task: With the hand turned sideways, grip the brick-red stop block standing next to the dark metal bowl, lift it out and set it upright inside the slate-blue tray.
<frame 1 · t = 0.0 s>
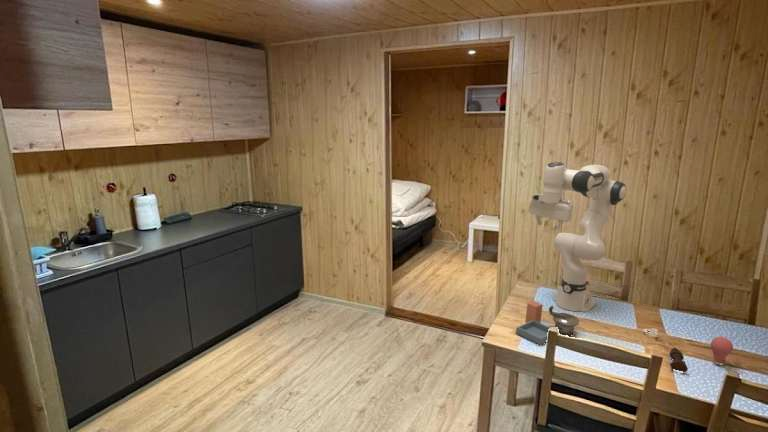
hand: (548, 227, 194), 48 cm above the table, tool pointing down, fingers open, 8 cm apart
stop block: (532, 322, 203), on the table
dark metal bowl: (563, 332, 194), on the table
tray: (536, 335, 190), on the table
light bulb: (717, 364, 172), on the table
brown shoe: (676, 364, 171), on the table
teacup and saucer: (655, 336, 194), on the table
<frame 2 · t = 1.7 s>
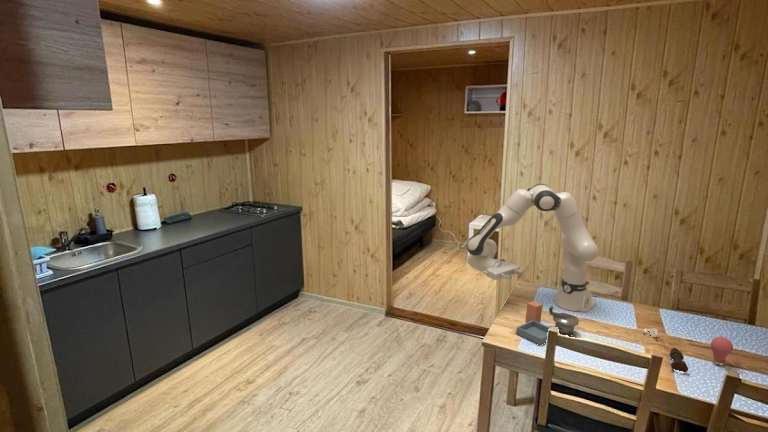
hand: (516, 276, 207), 20 cm above the table, tool horizontal, fingers open, 8 cm apart
nothing on the table moved.
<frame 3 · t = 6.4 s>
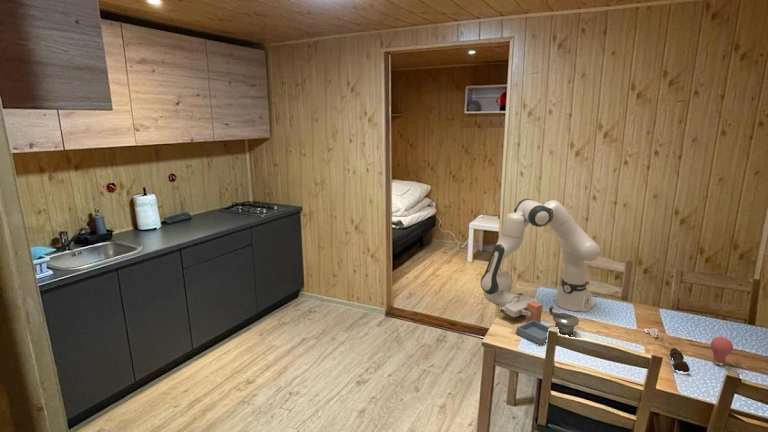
hand: (535, 312, 201), 6 cm above the table, tool horizontal, fingers closed on stop block, 5 cm apart
stop block: (532, 322, 203), on the table, touching gripper
everything else where it was.
when the fingers open (8 cm above the table, at t = 11.5 s): stop block drops 2 cm, resting on tray.
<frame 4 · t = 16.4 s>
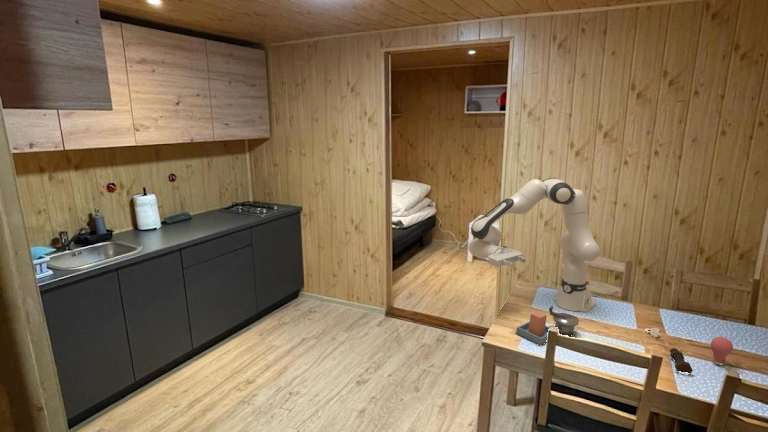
hand: (519, 262, 198), 30 cm above the table, tool horizontal, fingers open, 8 cm apart
stop block: (536, 334, 190), point 1 cm above the table, touching tray
everything else where it was.
at the end: stop block inside the target area on the tray (0.0 cm from its centre), point 0.8 cm above the tray's base; stop block tilted 0°; the gripper is holding nothing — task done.
